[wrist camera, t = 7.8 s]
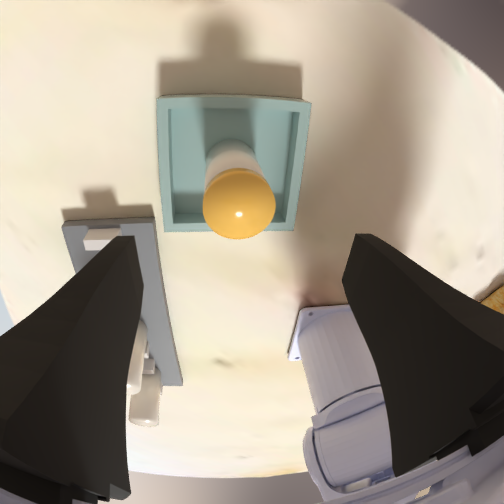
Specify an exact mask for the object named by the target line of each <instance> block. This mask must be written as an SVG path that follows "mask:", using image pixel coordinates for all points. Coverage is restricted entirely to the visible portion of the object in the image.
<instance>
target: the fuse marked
mask: <svg viewBox="0 0 504 504" xmlns="http://www.w3.org/2000/svg"><path fill="white" fill-rule="evenodd" d="M275 208H276V202H275V197H274V194H273V192H272V190H271V188H270V186H269V184H268V182H267V181H266V179H265V177H264V174H263V172H262V170H261V168H260V165H259V163H258V161H257V159H256V156H255V154H254V152H253V150H252V149H251V147H250V146H249V145H248V144H246V143H245V142H243V141H241V140H237V139H226V140H222V141H220V142H218V143H217V144H215V145H214V146H213V147H212V148H211V149H210V151H209V152H208V154H207V157H206V168H205V189H204V195H203V216H204V219H205V221H206V223H207V224H208V226H209V227H210V228H211V229H212V230H213V231H214V232H215V233H217V234H218V235H220V236H223V237H226V238H229V239H245V238H249V237H252V236H255V235H257V234H258V233H260V232H262V231H263V230H264V229H265V228H266V227H267V226H268V225H269V224H270V222H271V220H272V219H273V216H274V213H275Z"/></svg>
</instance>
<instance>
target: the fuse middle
mask: <svg viewBox="0 0 504 504" xmlns="http://www.w3.org/2000/svg"><path fill="white" fill-rule="evenodd" d="M147 334H148V328H147V326H146V324H145V323H144V322H142V321H141V320H139V324H138V328H137V333H136V337H135V342H134V347H133V351H132V356H131V361H130V366H129V372H128V379H127V392H126V395H133V394H137V393H139V392H140V390H141V381H142V372H143V364H144V356H145V348H146V341H147Z"/></svg>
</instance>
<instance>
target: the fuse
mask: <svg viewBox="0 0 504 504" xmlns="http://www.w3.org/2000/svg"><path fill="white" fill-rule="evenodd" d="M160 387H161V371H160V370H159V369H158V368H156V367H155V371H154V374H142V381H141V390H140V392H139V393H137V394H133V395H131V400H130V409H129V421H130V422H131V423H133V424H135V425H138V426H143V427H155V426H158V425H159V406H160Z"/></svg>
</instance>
